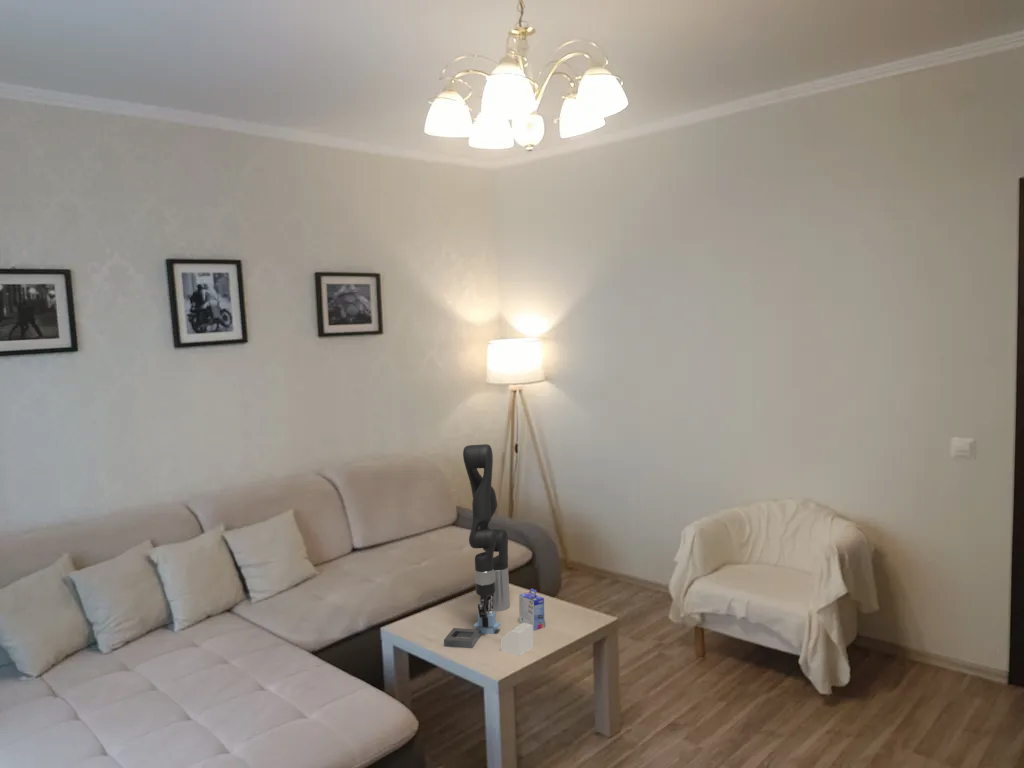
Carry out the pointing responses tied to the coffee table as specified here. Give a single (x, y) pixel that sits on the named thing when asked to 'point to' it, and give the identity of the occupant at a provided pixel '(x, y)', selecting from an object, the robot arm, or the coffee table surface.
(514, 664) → the coffee table surface
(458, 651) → the coffee table surface
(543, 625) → the ink cartridge box
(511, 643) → the white sloped wedge
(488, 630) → the servo
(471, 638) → the tray
